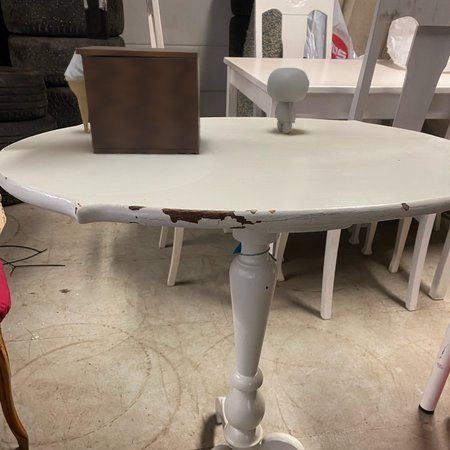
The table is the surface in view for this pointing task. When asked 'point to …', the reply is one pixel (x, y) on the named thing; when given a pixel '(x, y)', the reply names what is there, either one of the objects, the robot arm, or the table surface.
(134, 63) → the bin
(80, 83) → the ice cream cone
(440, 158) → the table surface
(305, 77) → the figurine
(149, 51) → the bin lid
